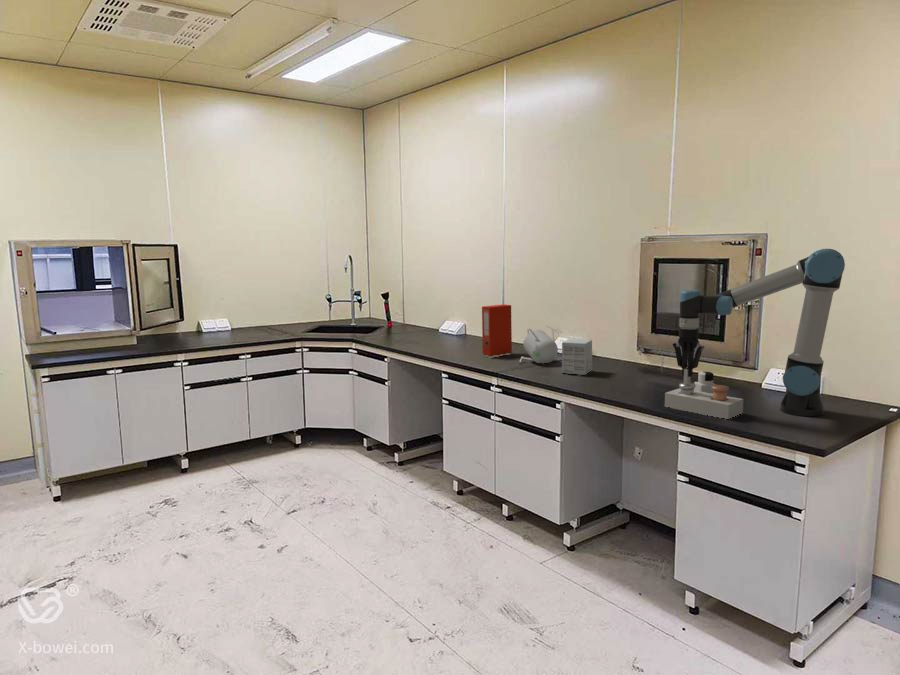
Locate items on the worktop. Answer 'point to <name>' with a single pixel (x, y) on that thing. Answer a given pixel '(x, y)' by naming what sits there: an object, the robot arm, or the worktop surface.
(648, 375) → the worktop surface
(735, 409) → the block
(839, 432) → the worktop surface
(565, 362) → the supplement box
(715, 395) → the terracotta plug
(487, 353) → the file binder
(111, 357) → the worktop surface
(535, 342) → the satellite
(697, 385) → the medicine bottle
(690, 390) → the metal plug
